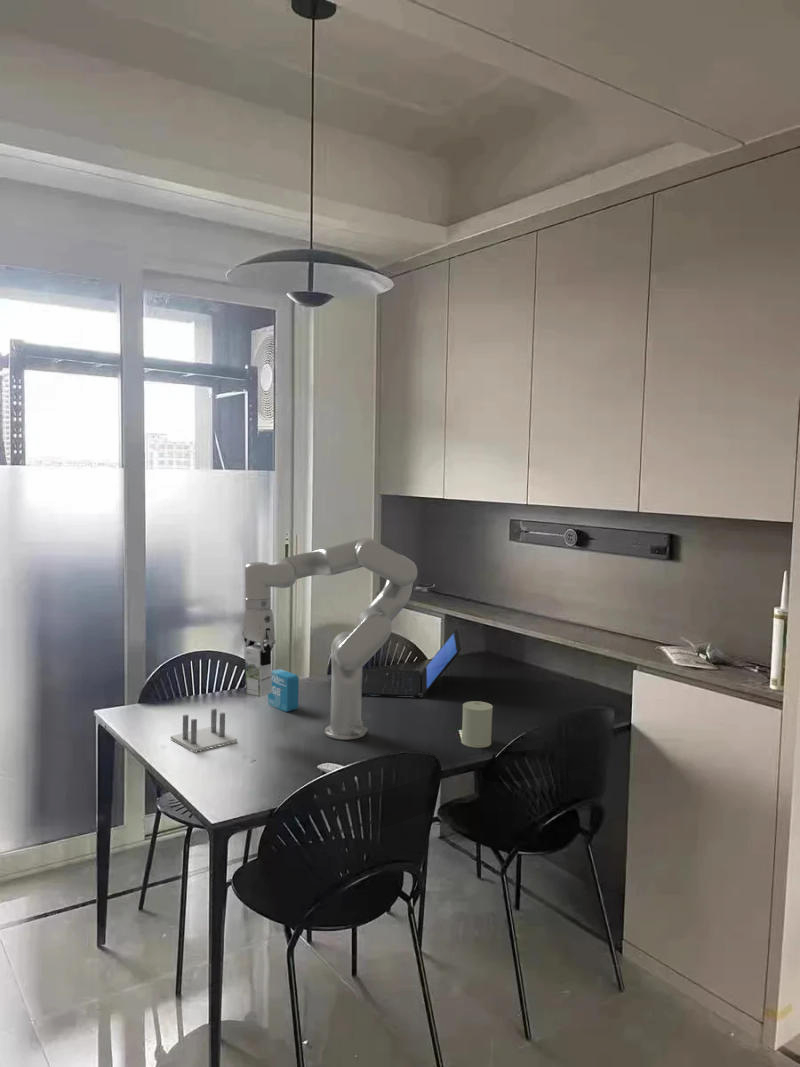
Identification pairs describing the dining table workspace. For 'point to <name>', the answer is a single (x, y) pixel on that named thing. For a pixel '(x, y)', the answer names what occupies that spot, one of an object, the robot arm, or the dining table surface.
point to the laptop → (410, 674)
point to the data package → (284, 690)
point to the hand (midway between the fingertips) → (258, 661)
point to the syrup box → (257, 673)
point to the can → (477, 724)
